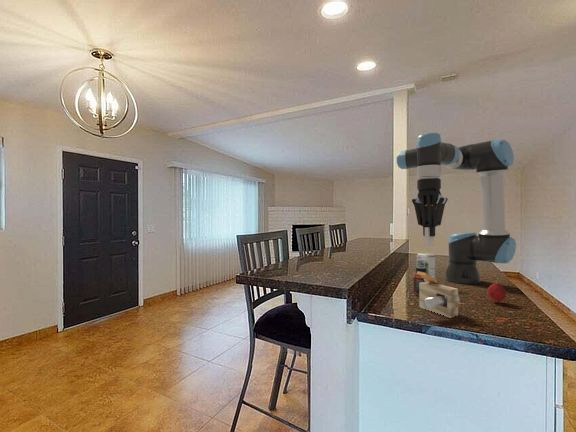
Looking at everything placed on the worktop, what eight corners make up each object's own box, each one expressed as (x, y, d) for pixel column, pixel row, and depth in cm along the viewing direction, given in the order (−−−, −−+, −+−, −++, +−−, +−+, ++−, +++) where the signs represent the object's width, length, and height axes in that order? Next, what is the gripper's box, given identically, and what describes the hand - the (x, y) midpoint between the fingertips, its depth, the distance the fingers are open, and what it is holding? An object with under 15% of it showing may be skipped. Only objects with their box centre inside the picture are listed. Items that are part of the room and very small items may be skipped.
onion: (489, 299, 117) (489, 278, 117) (507, 302, 113) (507, 281, 113) (485, 302, 113) (485, 281, 113) (504, 306, 109) (504, 284, 109)
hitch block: (427, 305, 111) (426, 281, 111) (458, 315, 101) (457, 288, 100) (419, 307, 110) (419, 282, 109) (450, 317, 99) (449, 290, 99)
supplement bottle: (430, 297, 122) (430, 269, 122) (415, 296, 123) (414, 268, 123) (427, 293, 128) (426, 266, 128) (412, 292, 129) (411, 265, 129)
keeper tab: (429, 282, 110) (430, 279, 111) (438, 284, 107) (439, 281, 107) (416, 273, 107) (417, 270, 107) (424, 275, 104) (426, 272, 104)
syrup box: (416, 284, 142) (416, 253, 142) (424, 282, 145) (424, 252, 145) (427, 287, 137) (426, 255, 137) (435, 285, 140) (435, 253, 140)
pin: (446, 303, 106) (446, 288, 106) (460, 307, 102) (460, 292, 102) (419, 309, 100) (419, 294, 100) (433, 313, 96) (432, 298, 96)
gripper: (453, 177, 102) (453, 246, 103) (420, 180, 114) (421, 243, 115) (438, 176, 99) (438, 248, 100) (406, 180, 111) (406, 244, 111)
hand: (429, 245), depth 107 cm, fingers closed
